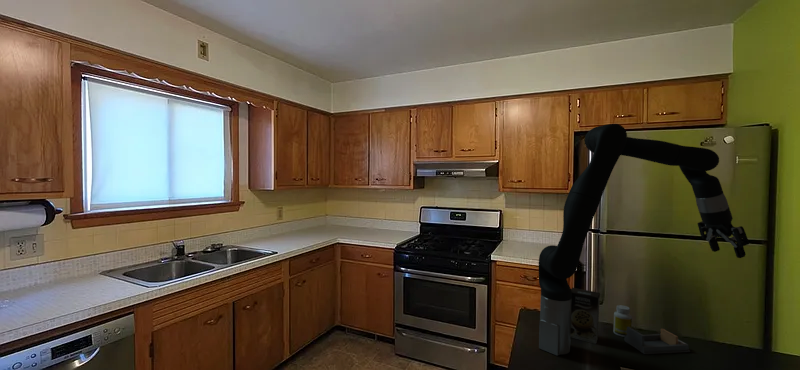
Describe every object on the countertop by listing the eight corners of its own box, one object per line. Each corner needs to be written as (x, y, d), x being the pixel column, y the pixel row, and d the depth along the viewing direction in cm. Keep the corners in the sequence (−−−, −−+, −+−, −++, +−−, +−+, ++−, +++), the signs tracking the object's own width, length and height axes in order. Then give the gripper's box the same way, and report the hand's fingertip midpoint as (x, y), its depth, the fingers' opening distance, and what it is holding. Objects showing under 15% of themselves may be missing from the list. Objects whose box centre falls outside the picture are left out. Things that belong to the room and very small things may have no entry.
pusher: (675, 348, 114) (675, 336, 114) (660, 339, 120) (660, 328, 120) (677, 348, 114) (678, 336, 114) (662, 339, 120) (662, 328, 120)
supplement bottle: (633, 338, 122) (635, 310, 121) (616, 336, 123) (617, 309, 122) (627, 331, 127) (628, 305, 127) (610, 330, 128) (611, 303, 128)
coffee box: (566, 337, 122) (568, 291, 122) (570, 330, 128) (571, 286, 127) (596, 344, 117) (598, 297, 116) (598, 337, 122) (600, 291, 122)
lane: (644, 354, 111) (645, 337, 111) (623, 340, 120) (624, 325, 120) (690, 351, 113) (691, 335, 113) (666, 338, 122) (667, 323, 122)
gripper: (684, 209, 121) (698, 252, 122) (723, 214, 107) (739, 263, 107) (704, 201, 121) (718, 245, 122) (746, 206, 107) (761, 255, 107)
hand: (728, 253), depth 115 cm, fingers open, 8 cm apart
